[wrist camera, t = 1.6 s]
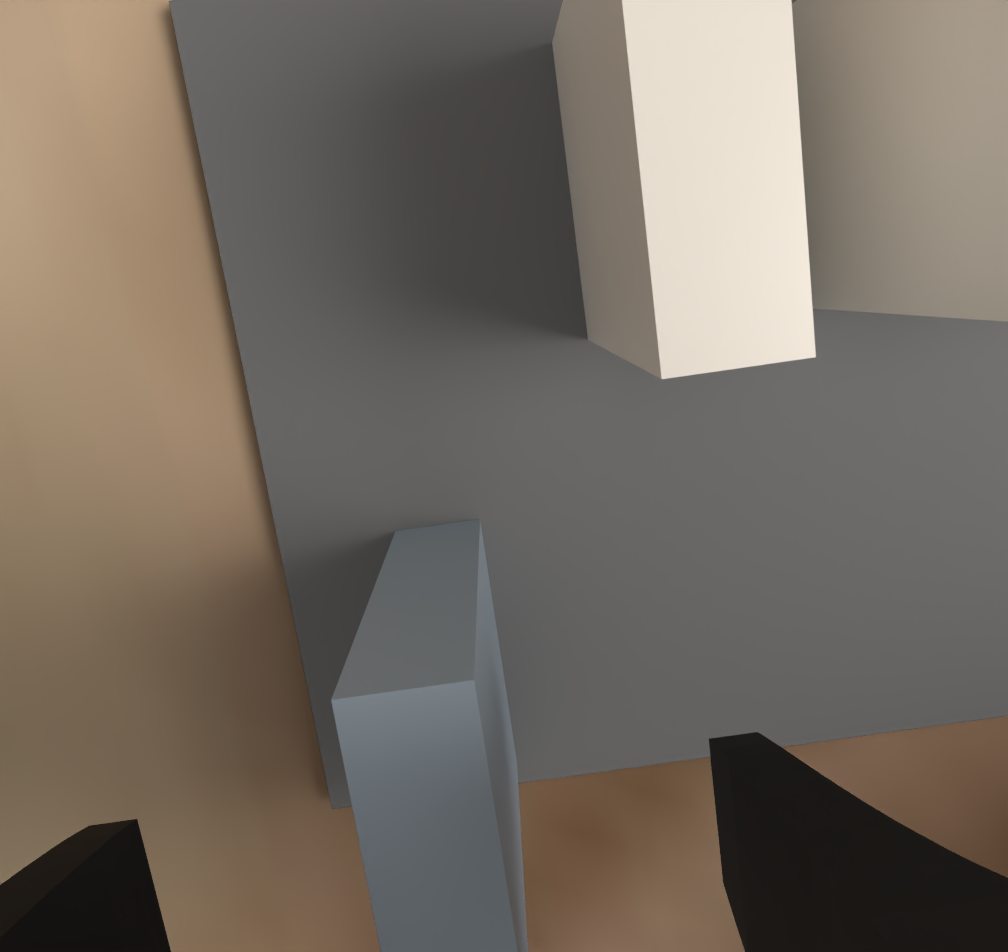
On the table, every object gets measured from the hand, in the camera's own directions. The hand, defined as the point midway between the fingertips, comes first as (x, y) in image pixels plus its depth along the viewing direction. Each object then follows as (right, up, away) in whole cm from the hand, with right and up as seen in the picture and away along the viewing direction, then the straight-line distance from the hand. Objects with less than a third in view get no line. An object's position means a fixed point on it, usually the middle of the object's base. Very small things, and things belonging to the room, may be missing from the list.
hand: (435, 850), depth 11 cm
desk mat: (+7, +7, +6) cm, 11 cm away
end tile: (0, +1, +6) cm, 6 cm away
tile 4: (+3, +10, +4) cm, 11 cm away
